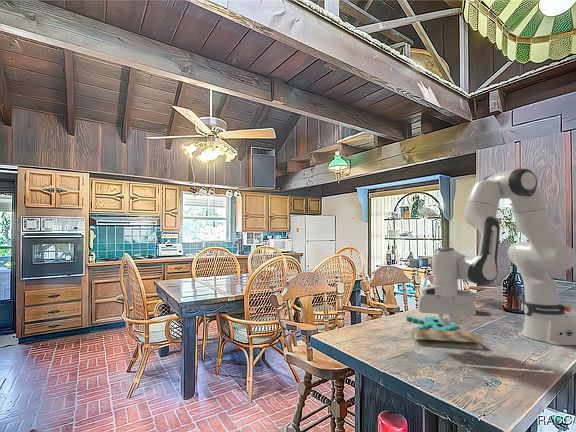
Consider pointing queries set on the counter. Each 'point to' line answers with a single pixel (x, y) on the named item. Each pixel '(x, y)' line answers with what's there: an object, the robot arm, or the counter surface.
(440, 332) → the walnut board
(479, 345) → the underlay mat
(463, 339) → the birch plank
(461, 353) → the counter surface
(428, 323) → the alien figure
